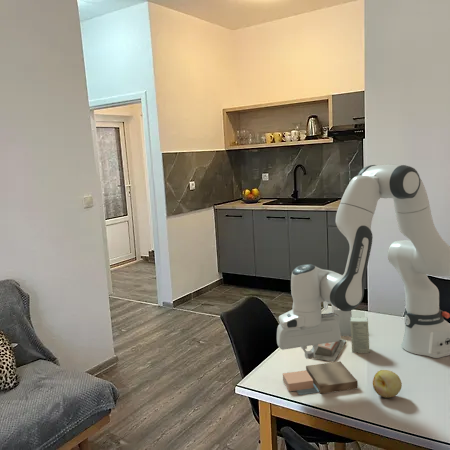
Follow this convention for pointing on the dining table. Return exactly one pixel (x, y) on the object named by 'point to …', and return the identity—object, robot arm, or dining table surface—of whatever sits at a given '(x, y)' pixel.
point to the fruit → (387, 383)
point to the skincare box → (359, 334)
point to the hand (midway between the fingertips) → (310, 357)
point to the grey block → (344, 322)
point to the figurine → (327, 307)
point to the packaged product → (329, 350)
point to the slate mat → (308, 390)
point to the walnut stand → (332, 377)
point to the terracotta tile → (298, 380)
